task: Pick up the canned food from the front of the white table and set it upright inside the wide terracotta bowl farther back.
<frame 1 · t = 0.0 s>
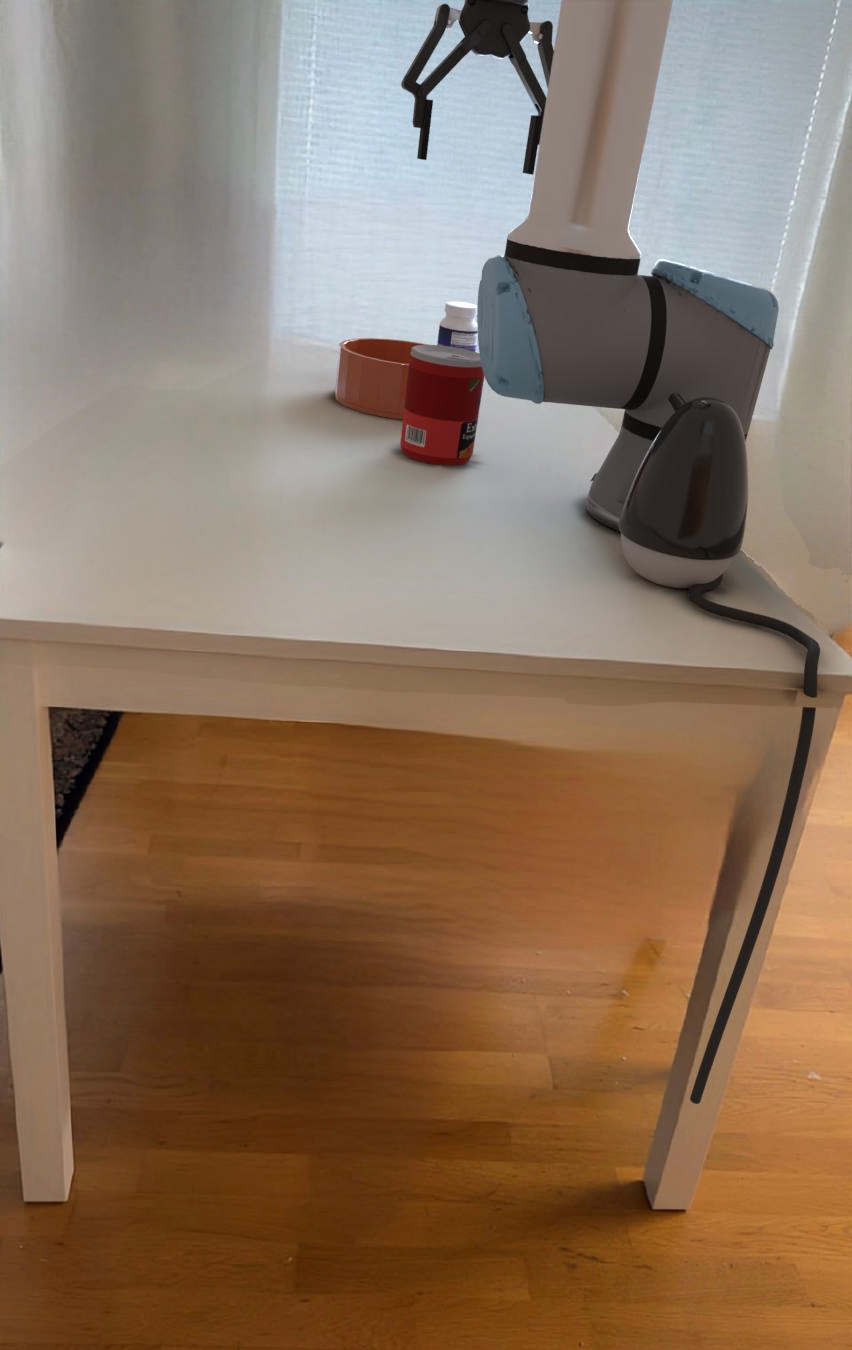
hand: (475, 167, 133), 28 cm above the table, tool pointing down, fingers open, 13 cm apart
terracotta bowl: (398, 404, 136), on the table
pill bottle: (452, 376, 157), on the table
dark two-tone rounded device: (667, 578, 91), on the table
canned food: (435, 457, 116), on the table
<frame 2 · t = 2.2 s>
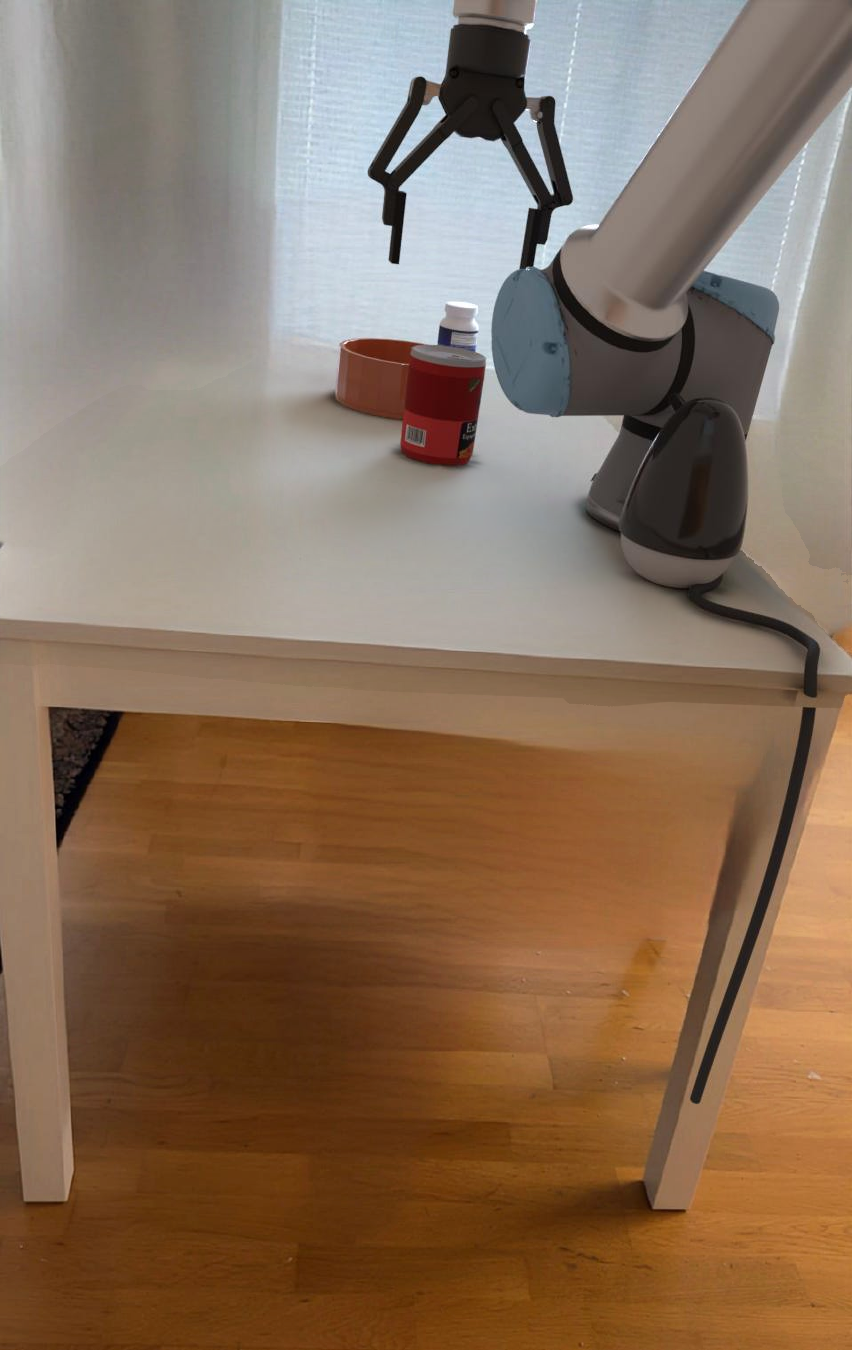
hand: (459, 270, 108), 19 cm above the table, tool pointing down, fingers open, 13 cm apart
nothing on the table moved.
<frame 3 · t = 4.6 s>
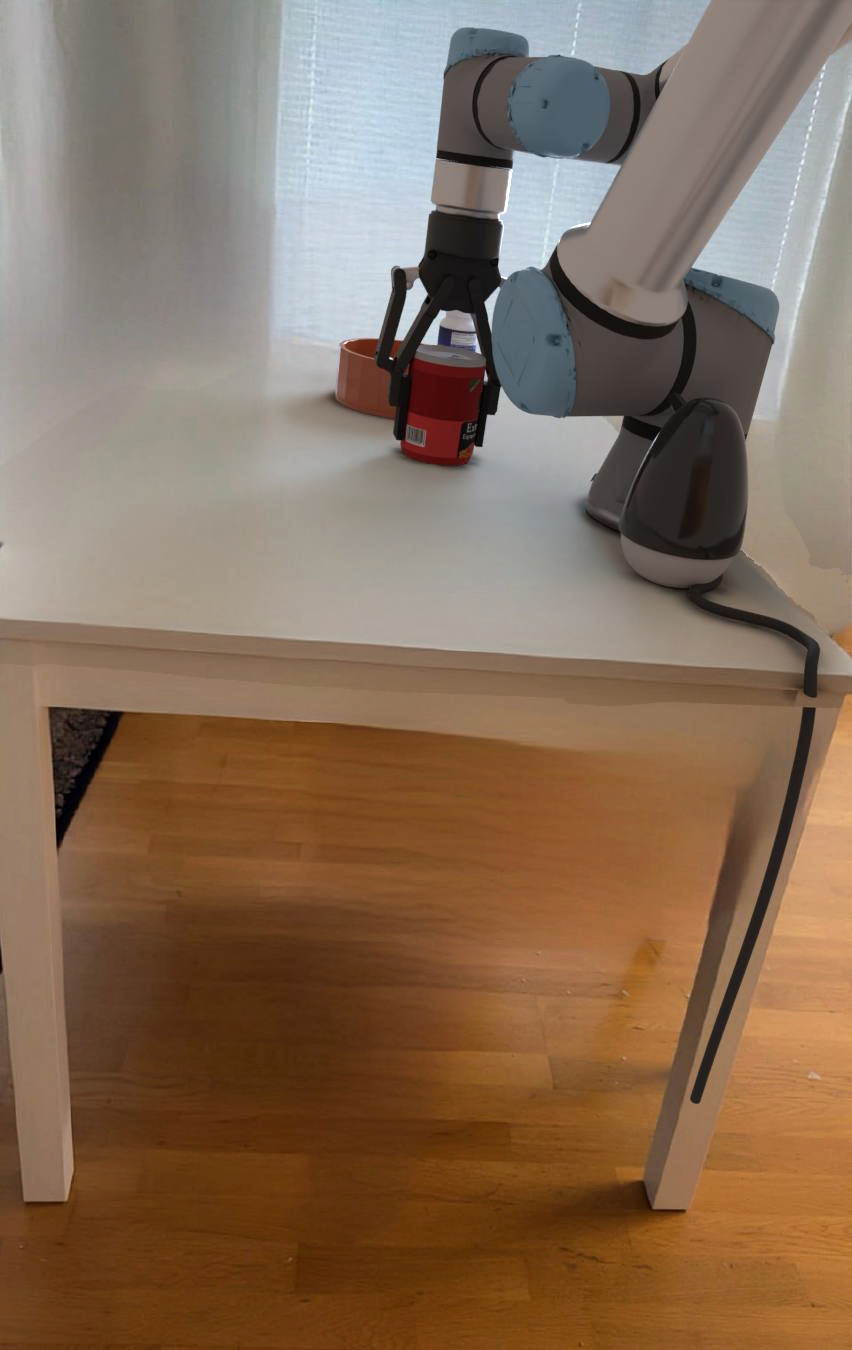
hand: (437, 440, 115), 2 cm above the table, tool pointing down, fingers closed on canned food, 8 cm apart
canned food: (435, 457, 116), on the table, touching gripper
everything else where it was.
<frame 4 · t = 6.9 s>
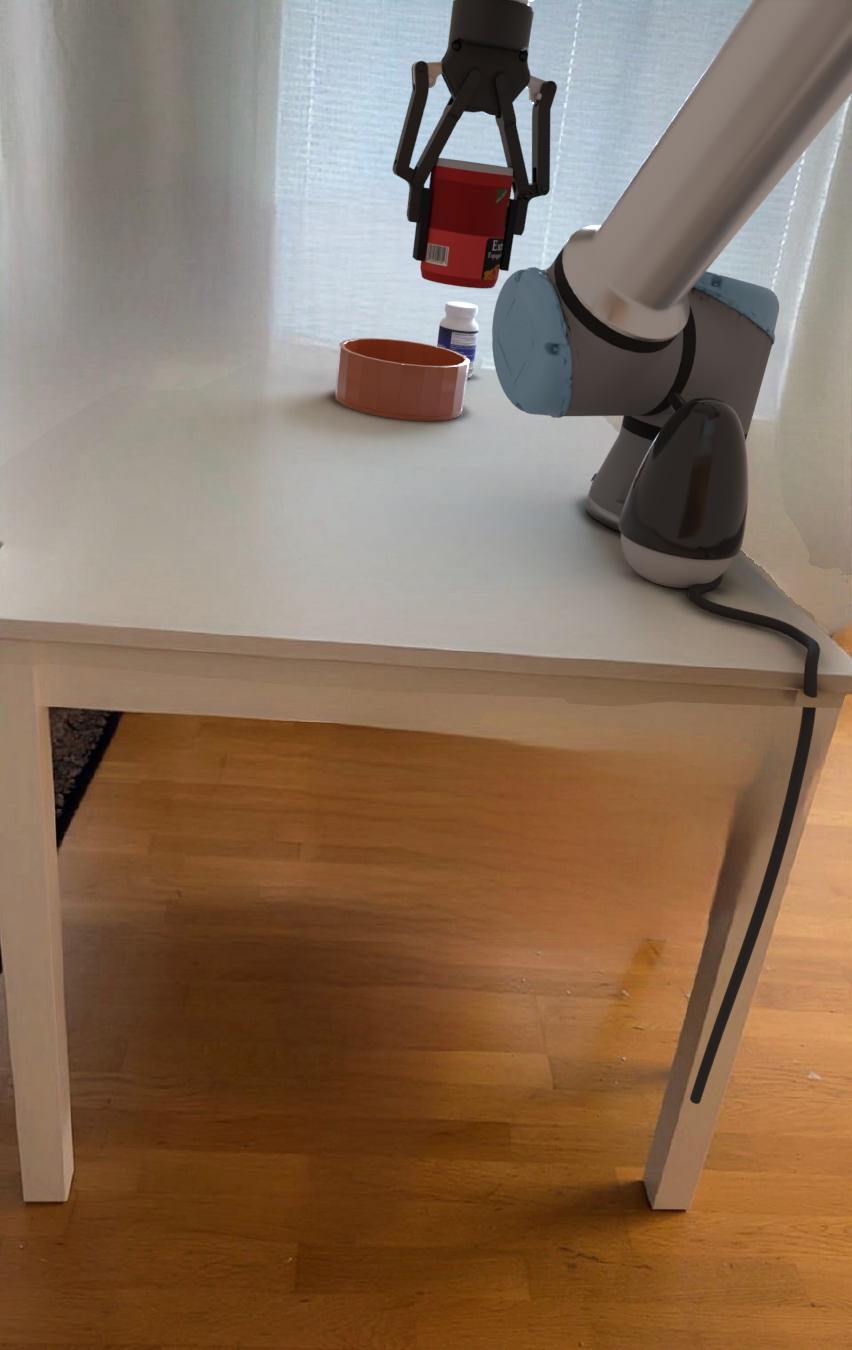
hand: (460, 264, 107), 20 cm above the table, tool pointing down, fingers closed on canned food, 8 cm apart
canned food: (457, 284, 108), point 18 cm above the table, touching gripper
everything else where it was.
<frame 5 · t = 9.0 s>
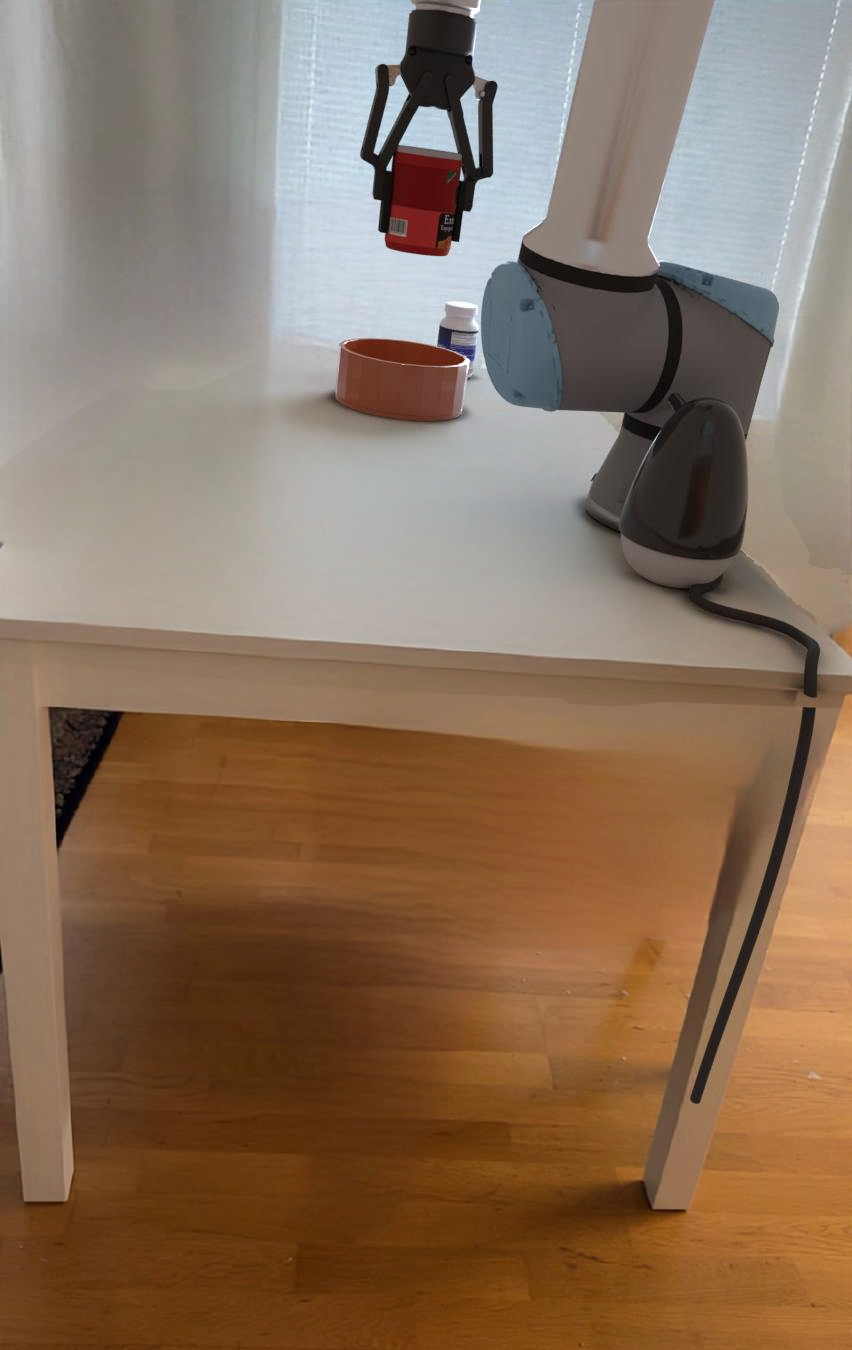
hand: (418, 236, 126), 20 cm above the table, tool pointing down, fingers closed on canned food, 8 cm apart
canned food: (416, 253, 127), point 18 cm above the table, touching gripper
everything else where it was.
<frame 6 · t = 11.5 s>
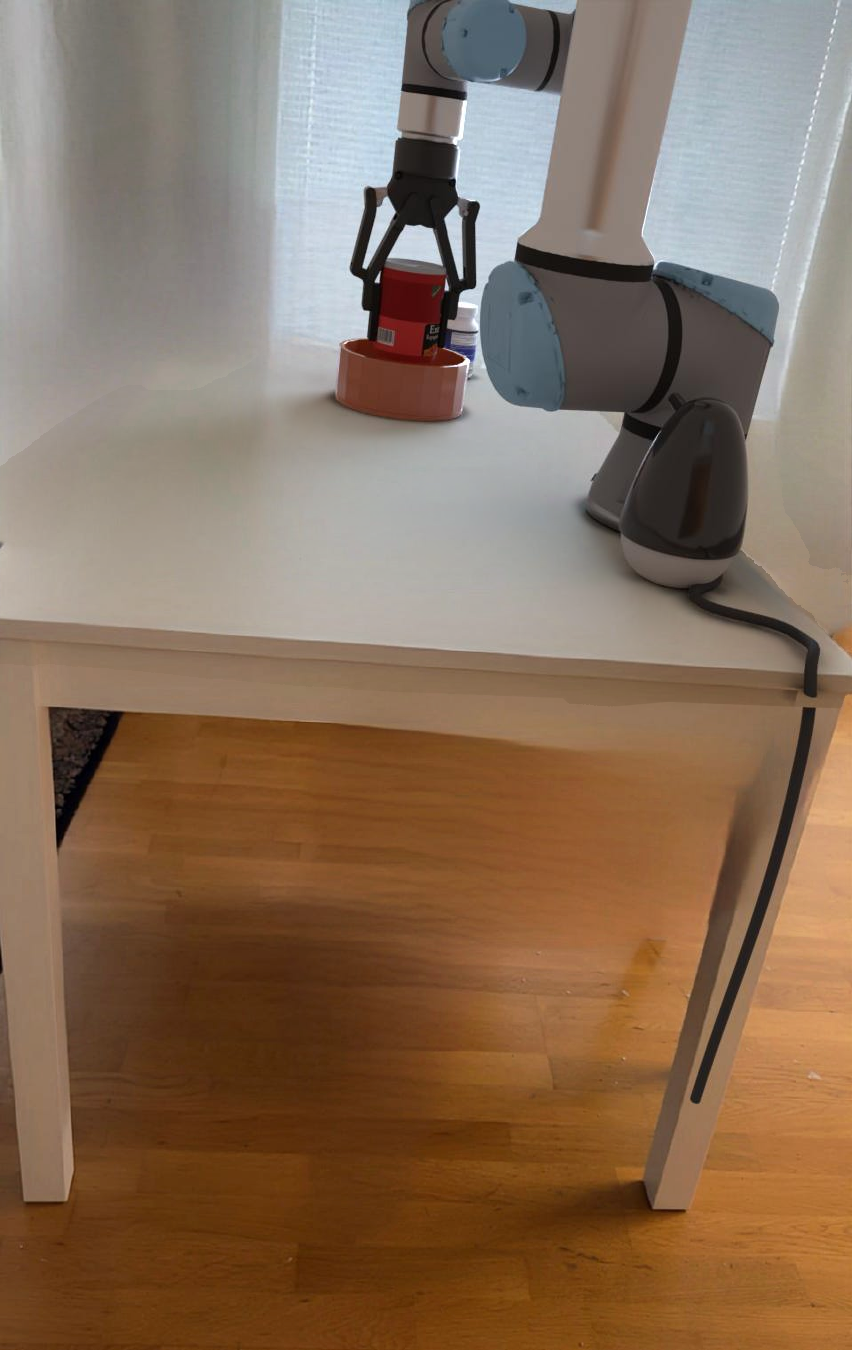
hand: (405, 342, 132), 8 cm above the table, tool pointing down, fingers closed on canned food, 8 cm apart
canned food: (403, 358, 133), point 6 cm above the table, touching gripper
everything else where it was.
when the fingers open (2 cm above the table, at t = 13.4 s): canned food stays where it is, resting on terracotta bowl.
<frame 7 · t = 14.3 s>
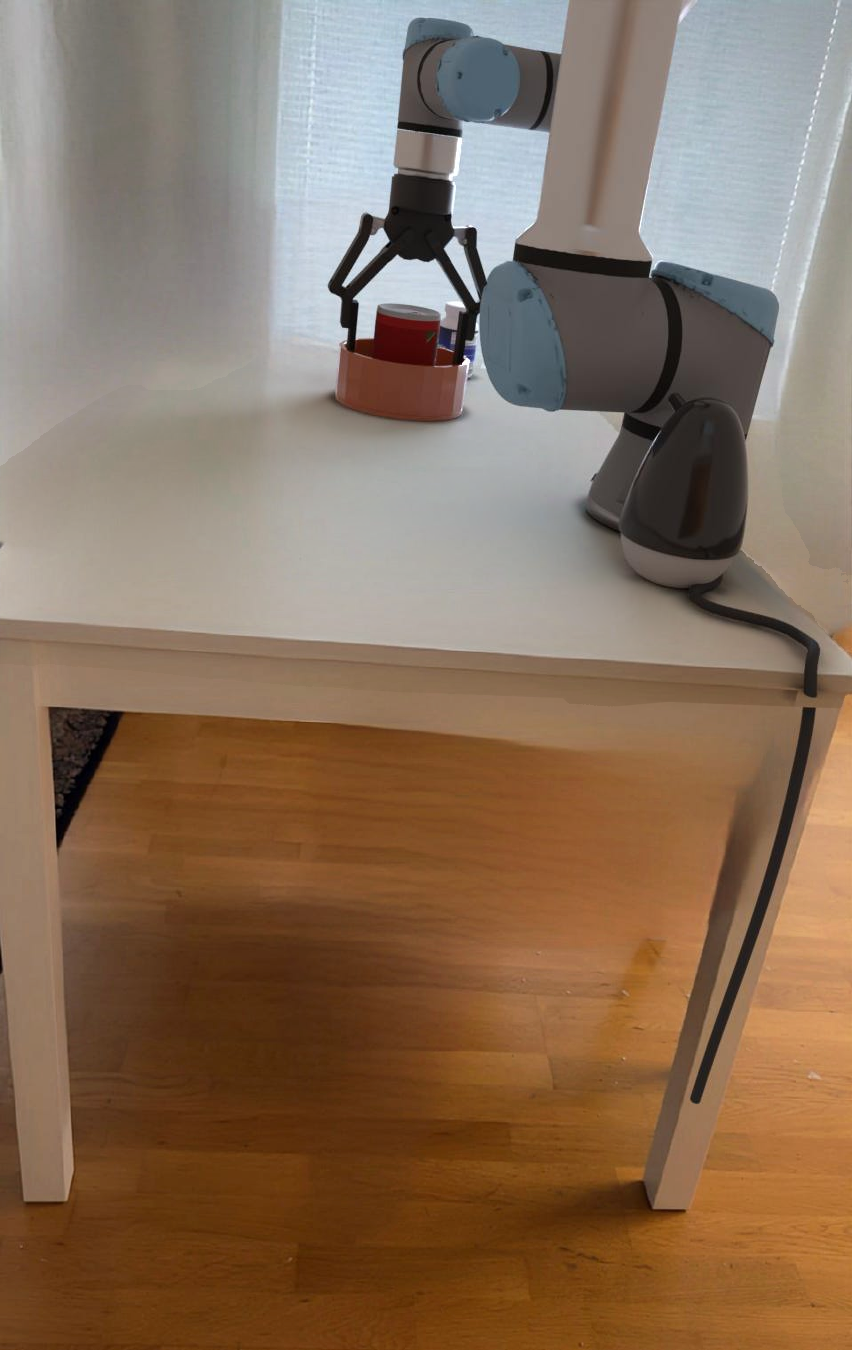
hand: (403, 361, 133), 5 cm above the table, tool pointing down, fingers open, 13 cm apart
canned food: (399, 400, 136), resting on terracotta bowl
everything else where it was.
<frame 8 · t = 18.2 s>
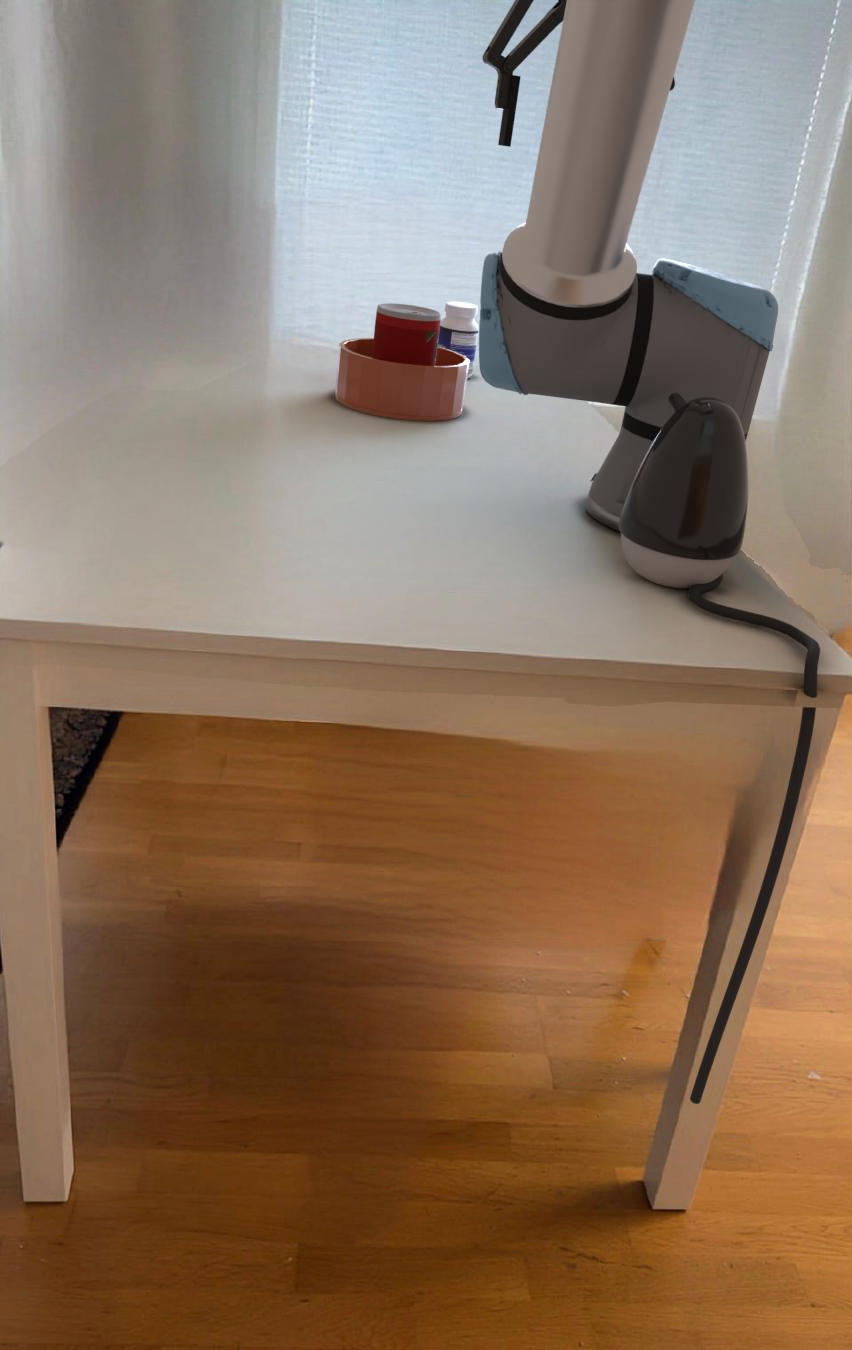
hand: (565, 155, 114), 31 cm above the table, tool pointing down, fingers open, 13 cm apart
nothing on the table moved.
at the end: canned food inside the target area in the terracotta bowl (0.1 cm from its centre), point 0.4 cm above the terracotta bowl's base; canned food tilted 0°; the gripper is holding nothing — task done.
